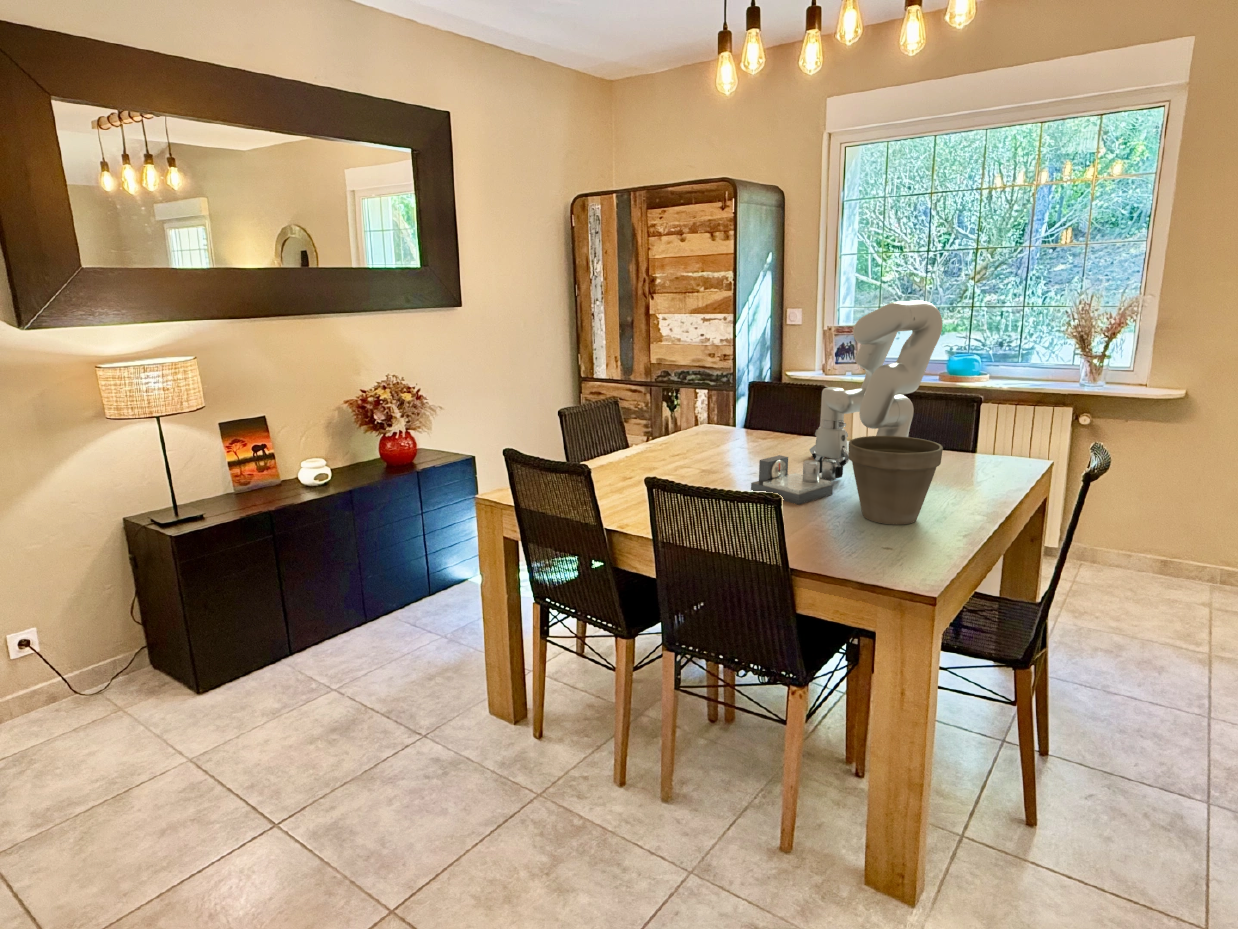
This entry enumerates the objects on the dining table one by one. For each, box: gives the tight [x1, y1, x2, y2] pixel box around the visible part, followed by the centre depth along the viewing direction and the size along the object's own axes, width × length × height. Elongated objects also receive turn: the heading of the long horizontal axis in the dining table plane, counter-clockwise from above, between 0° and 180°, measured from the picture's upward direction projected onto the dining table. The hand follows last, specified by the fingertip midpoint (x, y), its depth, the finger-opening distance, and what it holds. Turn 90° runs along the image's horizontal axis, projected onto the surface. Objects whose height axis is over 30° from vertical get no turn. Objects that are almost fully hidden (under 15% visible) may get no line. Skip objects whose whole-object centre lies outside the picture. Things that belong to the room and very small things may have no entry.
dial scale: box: [750, 454, 834, 506], centre depth 238 cm, size 19×17×10 cm
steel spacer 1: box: [802, 459, 820, 483], centre depth 237 cm, size 5×5×6 cm
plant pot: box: [848, 435, 944, 526], centre depth 212 cm, size 25×25×22 cm
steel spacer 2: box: [820, 458, 837, 481], centre depth 256 cm, size 5×5×6 cm
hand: (828, 475), depth 256 cm, fingers open, 7 cm apart
